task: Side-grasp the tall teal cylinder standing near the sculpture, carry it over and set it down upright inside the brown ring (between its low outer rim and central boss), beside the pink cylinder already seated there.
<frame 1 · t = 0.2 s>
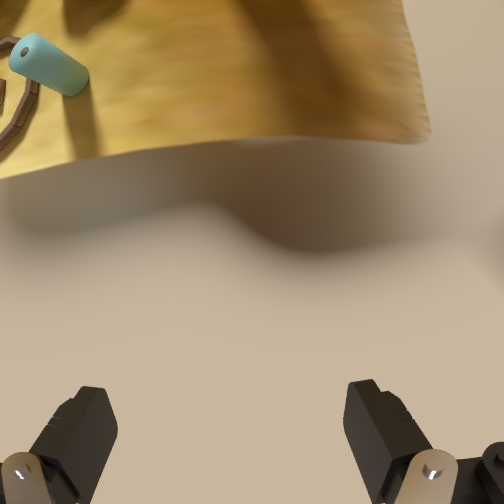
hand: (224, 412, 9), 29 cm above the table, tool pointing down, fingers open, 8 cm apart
teal cylinder: (74, 80, 33), on the table
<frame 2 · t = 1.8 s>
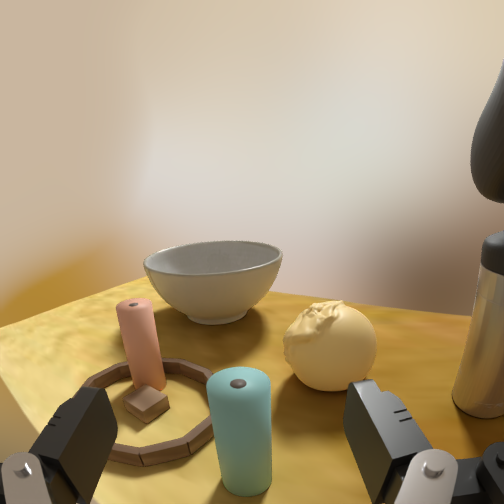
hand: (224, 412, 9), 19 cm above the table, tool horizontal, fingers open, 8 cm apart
brown ring: (147, 409, 35), on the table
sculpture: (328, 377, 41), on the table
teal cylinder: (247, 478, 24), on the table
decorative bowl: (217, 313, 65), on the table
pink cylinder: (150, 384, 40), resting in brown ring
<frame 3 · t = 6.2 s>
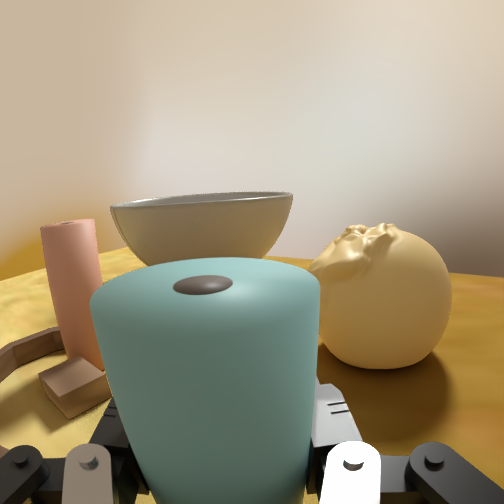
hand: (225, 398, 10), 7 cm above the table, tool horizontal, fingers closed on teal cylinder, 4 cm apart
brown ring: (77, 396, 19), on the table
sculpture: (373, 351, 25), on the table
decorative bowl: (206, 277, 49), on the table
pink cylinder: (93, 359, 25), resting in brown ring
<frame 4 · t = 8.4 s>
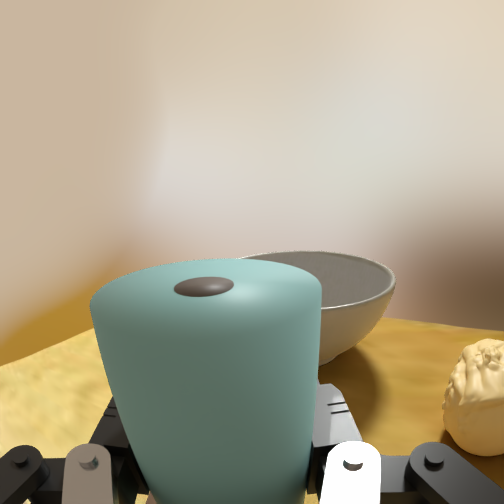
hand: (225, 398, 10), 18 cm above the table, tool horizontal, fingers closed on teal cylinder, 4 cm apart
sculpture: (479, 434, 23), on the table
decorative bowl: (299, 348, 48), on the table
when the fingers open (8 cm above the table, at t = 10.8 s): teal cylinder drops 1 cm, resting in brown ring.
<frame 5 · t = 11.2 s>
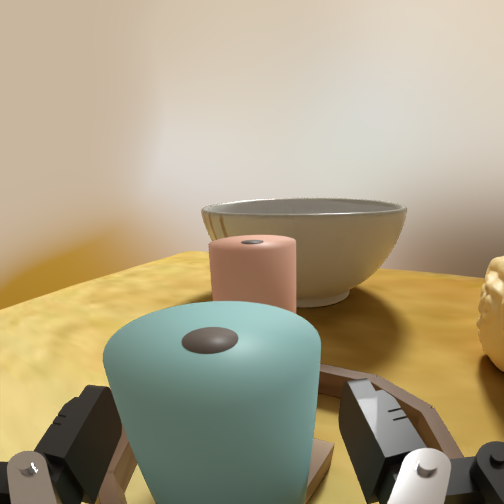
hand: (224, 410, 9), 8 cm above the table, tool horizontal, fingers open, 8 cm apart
brown ring: (282, 477, 14), on the table
decorative bowl: (305, 292, 44), on the table
pink cylinder: (259, 418, 20), resting in brown ring
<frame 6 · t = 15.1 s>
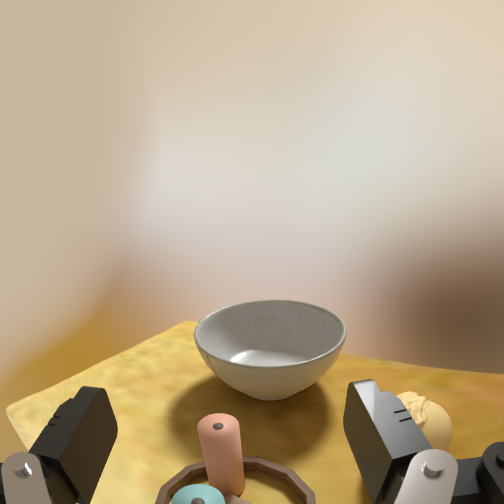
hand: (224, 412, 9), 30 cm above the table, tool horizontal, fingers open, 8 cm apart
sculpture: (401, 461, 34), on the table
decorative bowl: (271, 382, 58), on the table
pink cylinder: (227, 485, 34), resting in brown ring
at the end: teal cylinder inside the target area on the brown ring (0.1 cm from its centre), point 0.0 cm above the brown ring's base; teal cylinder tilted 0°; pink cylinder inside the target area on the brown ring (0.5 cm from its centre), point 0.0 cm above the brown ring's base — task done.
